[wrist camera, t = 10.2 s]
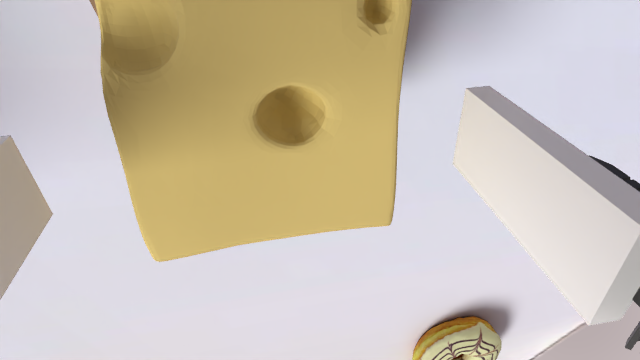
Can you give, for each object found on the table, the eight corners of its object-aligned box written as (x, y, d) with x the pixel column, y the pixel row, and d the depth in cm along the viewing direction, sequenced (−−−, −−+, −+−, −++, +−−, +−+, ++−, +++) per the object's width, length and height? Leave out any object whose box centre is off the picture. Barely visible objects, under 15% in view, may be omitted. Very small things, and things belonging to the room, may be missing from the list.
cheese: (131, -49, 18) (36, -21, 10) (359, -58, 20) (442, -40, 11) (180, 149, 24) (146, 270, 16) (354, 133, 25) (407, 237, 17)
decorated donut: (499, 340, 52) (516, 367, 49) (426, 375, 54) (437, 403, 50) (477, 298, 46) (494, 326, 43) (395, 339, 48) (406, 368, 45)
